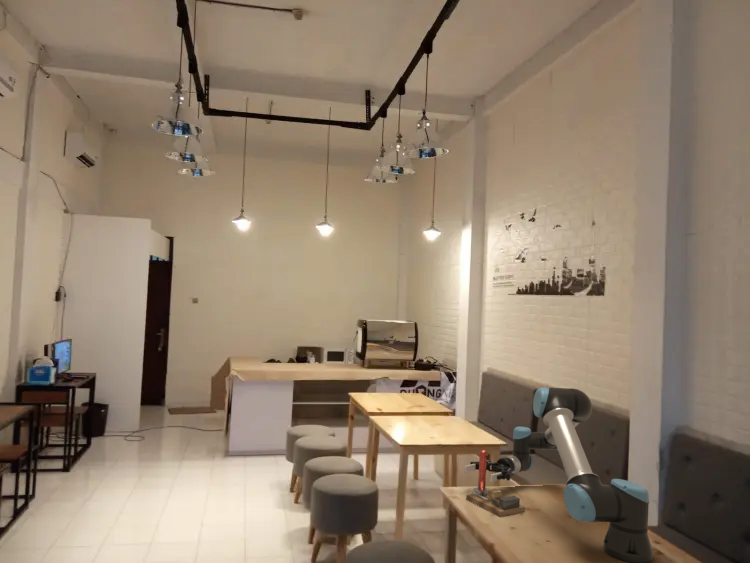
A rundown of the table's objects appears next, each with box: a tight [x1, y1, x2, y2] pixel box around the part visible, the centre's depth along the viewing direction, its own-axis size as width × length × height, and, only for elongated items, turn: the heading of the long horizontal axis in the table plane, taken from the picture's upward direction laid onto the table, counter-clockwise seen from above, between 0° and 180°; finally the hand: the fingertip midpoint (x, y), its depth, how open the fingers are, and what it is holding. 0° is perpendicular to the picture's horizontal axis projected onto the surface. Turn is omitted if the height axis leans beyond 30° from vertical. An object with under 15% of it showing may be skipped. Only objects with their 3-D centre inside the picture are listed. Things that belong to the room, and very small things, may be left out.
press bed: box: [465, 491, 526, 518], centre depth 221 cm, size 20×13×6 cm, turn 31°
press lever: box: [473, 449, 489, 498], centre depth 227 cm, size 7×5×18 cm
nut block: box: [487, 487, 503, 502], centre depth 221 cm, size 4×4×4 cm
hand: (477, 473), depth 226 cm, fingers open, 13 cm apart
